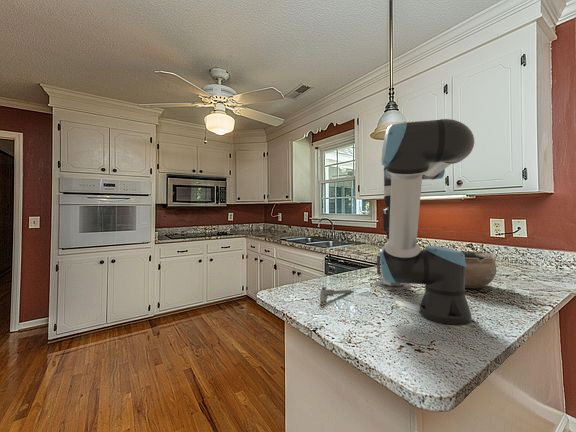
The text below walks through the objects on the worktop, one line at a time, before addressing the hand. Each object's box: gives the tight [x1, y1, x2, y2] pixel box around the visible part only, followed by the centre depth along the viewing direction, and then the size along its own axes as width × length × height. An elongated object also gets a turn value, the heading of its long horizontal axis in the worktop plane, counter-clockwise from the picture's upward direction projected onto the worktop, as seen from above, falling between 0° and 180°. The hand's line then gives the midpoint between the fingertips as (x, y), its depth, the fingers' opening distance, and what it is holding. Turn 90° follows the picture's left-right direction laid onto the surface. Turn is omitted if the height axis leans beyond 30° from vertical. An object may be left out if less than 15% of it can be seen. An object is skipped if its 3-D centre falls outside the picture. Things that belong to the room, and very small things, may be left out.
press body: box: [376, 252, 405, 287], centre depth 127 cm, size 13×10×15 cm
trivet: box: [374, 279, 412, 291], centre depth 126 cm, size 16×16×1 cm
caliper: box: [319, 286, 354, 304], centre depth 112 cm, size 20×1×6 cm, turn 131°
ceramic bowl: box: [460, 250, 498, 289], centre depth 125 cm, size 22×22×15 cm
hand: (392, 245), depth 126 cm, fingers closed on plunger, 4 cm apart
